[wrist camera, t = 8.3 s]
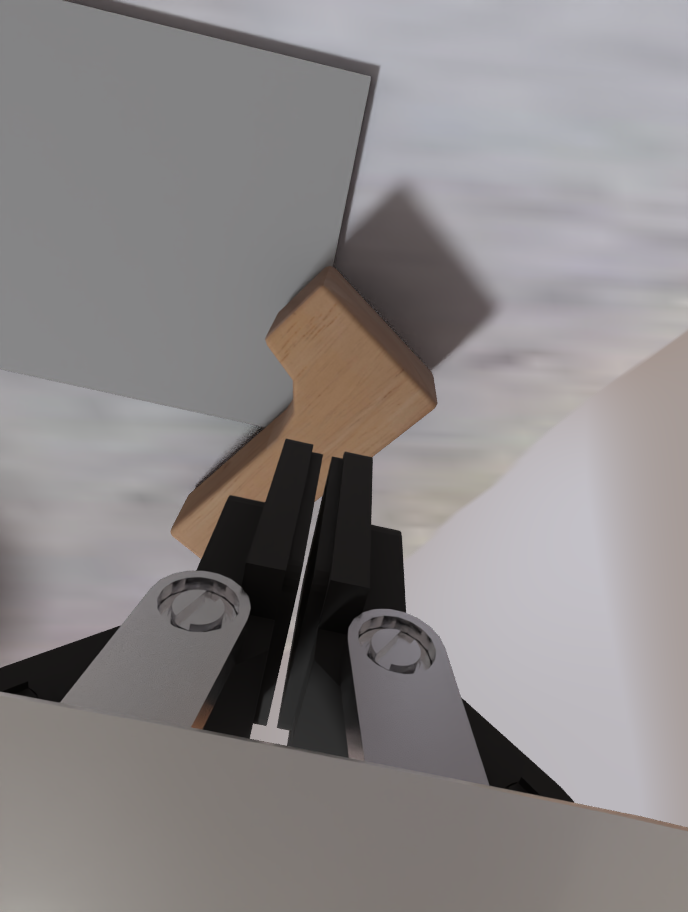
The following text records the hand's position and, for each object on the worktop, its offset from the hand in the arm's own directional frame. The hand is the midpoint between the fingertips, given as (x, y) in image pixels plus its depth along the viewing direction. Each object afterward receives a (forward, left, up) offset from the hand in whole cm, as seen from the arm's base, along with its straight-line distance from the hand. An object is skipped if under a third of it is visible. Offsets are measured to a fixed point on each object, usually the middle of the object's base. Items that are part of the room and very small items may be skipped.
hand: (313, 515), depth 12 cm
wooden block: (+2, +2, -24) cm, 24 cm away
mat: (0, -12, -27) cm, 29 cm away
